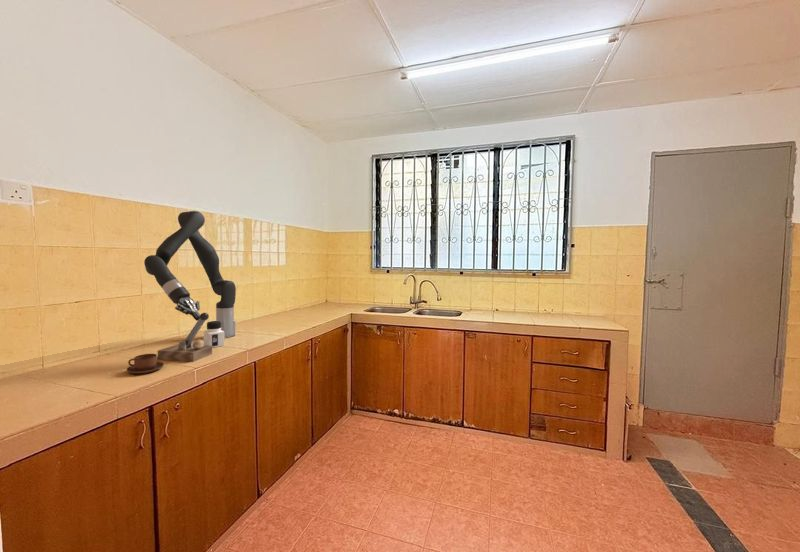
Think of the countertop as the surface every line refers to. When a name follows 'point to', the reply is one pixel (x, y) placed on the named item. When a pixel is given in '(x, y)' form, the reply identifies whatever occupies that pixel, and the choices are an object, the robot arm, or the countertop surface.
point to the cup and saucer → (144, 364)
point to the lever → (196, 328)
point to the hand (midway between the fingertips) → (199, 319)
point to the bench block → (185, 351)
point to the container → (214, 334)
